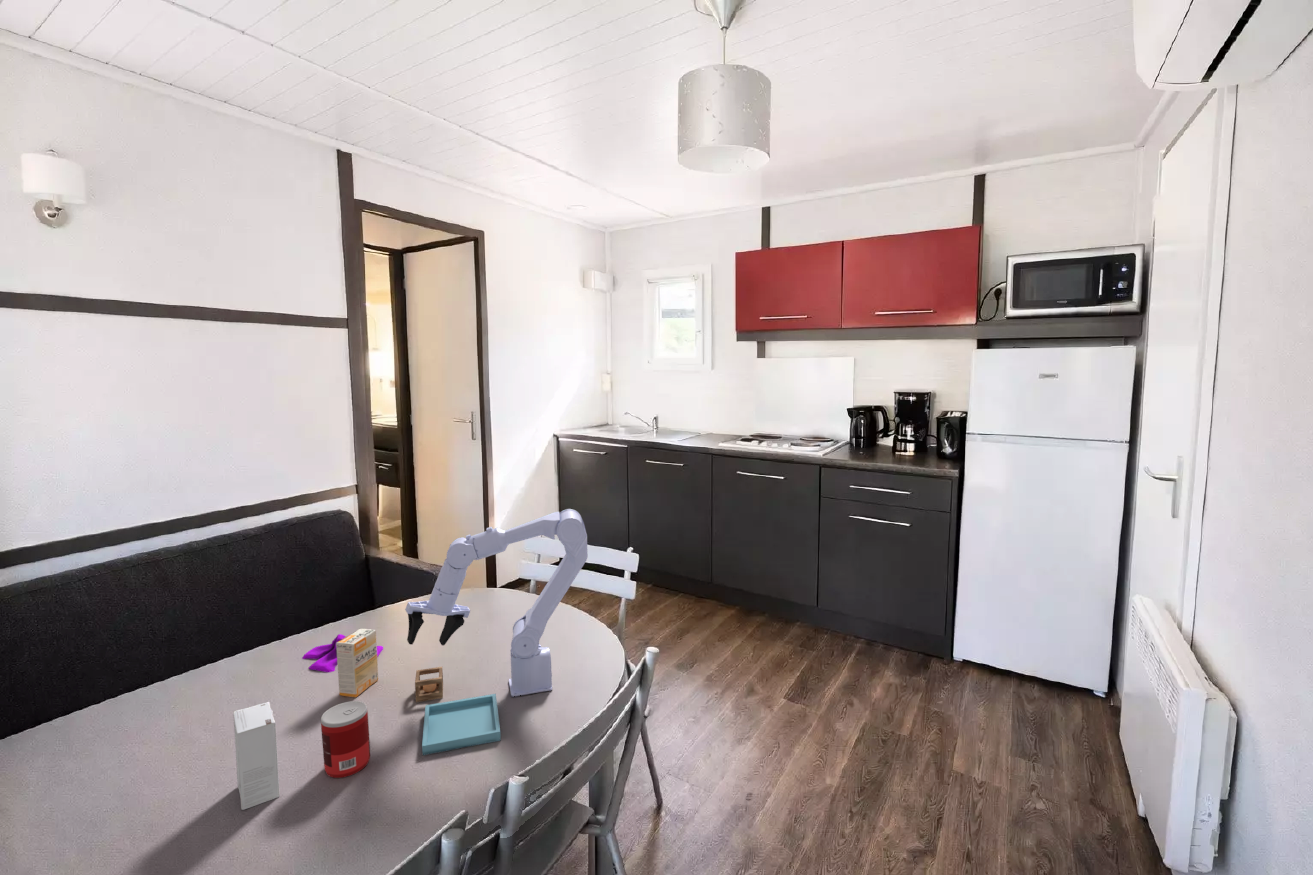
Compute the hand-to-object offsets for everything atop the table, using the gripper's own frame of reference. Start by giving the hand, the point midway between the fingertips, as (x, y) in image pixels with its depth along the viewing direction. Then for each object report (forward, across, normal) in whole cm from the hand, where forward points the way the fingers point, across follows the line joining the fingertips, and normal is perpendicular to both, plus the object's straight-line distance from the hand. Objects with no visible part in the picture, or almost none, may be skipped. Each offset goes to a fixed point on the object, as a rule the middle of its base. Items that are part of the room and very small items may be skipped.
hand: (426, 642), depth 139 cm
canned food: (+16, +15, +18) cm, 28 cm away
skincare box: (+22, +28, +16) cm, 39 cm away
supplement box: (+19, +6, -11) cm, 22 cm away
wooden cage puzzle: (+12, -5, +2) cm, 13 cm away
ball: (+10, -4, +1) cm, 11 cm away
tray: (+8, -5, +19) cm, 21 cm away
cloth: (+23, +4, -33) cm, 40 cm away
